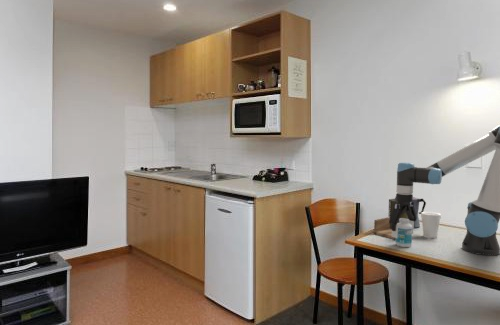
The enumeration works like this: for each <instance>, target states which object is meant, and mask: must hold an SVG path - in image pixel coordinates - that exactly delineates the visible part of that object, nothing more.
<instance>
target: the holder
mask: <svg viewBox="0 0 500 325" xmlns="http://www.w3.org/2000/svg"><path fill="white" fill-rule="evenodd" d="M389 220H390V218H389V216H387V217H383V218H379V219H374V223H373V224H374V226H373V227H374V232H373V234H374V235H376V236H380V237H383V238H388V239H391V240H395V241H396V238H394V237H392V229H390V223H389Z"/></svg>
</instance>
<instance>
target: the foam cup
mask: <svg viewBox="0 0 500 325" xmlns="http://www.w3.org/2000/svg"><path fill="white" fill-rule="evenodd" d="M420 215H421V216H420V217H421V224H422V225H421V226H422V231H423V232H422V235H423V237H424V238H427V239H437V237H438V232H439V227H440V221H441V219H442V217H441V216H442V214H441V213H439V212H435V211H423V212H422V213H421V214H420Z"/></svg>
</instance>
